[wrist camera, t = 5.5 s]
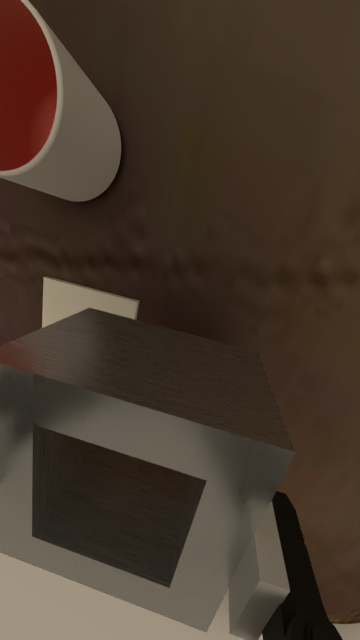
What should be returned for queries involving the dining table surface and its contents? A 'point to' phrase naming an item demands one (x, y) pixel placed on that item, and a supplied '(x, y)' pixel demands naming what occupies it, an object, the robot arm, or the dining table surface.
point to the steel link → (136, 459)
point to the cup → (51, 113)
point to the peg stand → (81, 301)
